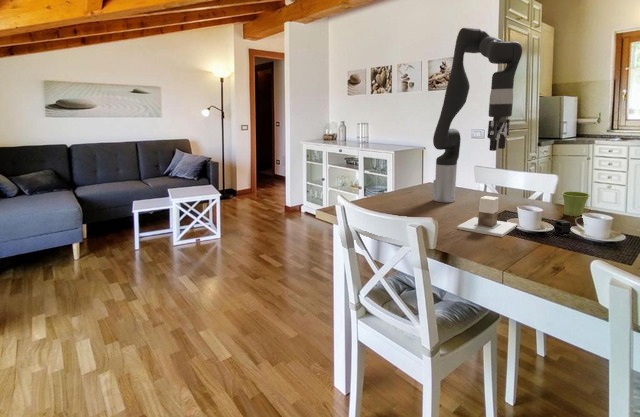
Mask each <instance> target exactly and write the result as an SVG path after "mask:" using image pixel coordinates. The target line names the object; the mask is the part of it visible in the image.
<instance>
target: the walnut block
mask: <svg viewBox="0 0 640 417" xmlns="http://www.w3.org/2000/svg"><path fill="white" fill-rule="evenodd" d="M498 212H499V210H498V211H497V212H495V213H493V214H492V213H485V212H479V211H478V217H477V218H478V225H482V226H488V227H493V226H494V225H496V224H497V221H498V215H499V214H498Z"/></svg>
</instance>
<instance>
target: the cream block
mask: <svg viewBox="0 0 640 417" xmlns="http://www.w3.org/2000/svg"><path fill="white" fill-rule="evenodd" d="M499 203H500V197H498V196H490V195H484V196H482V197H480V198H479V205H478V206H479V208H478V213H479V212H485V213H492V214H493V213H495V212H497V211H498V212H499Z"/></svg>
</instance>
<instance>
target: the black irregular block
mask: <svg viewBox="0 0 640 417" xmlns="http://www.w3.org/2000/svg"><path fill="white" fill-rule="evenodd" d="M571 227H572V226H571V221H567V220H565V219H556V220H555V223H554V227H553V229H554V230H553V232H555V233H554V234H556V233H558V234H561V235H563V234H569V233H571V229H572V228H571ZM553 232H552V233H553ZM558 234H557V235H558Z"/></svg>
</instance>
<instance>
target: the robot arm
mask: <svg viewBox="0 0 640 417" xmlns="http://www.w3.org/2000/svg"><path fill="white" fill-rule="evenodd" d="M465 53H468V54H481V56H483V57H485V58H487V59H488V62H489V63H491V64H495V65H500V64H501V65H502V64H506V66H505V68H504V69H502V70H499V71H495V72H493V74H492V76H491V84H490V85H491V87H490V88H491V90H490V93H489V103H488V104H489V105H488V117H490V118H492V120H488V127H487V128H488V129H487V135H486V136H487V139H489V148H488V149H489V151H490V152H491V151H492V152H493V151H494V152H496V151H497V150H498V149H500V150H501V149H502V150H503V149H505V148H506V138H507V137H509V134H510V124H511V123H510V121H511V120H510V119H509V117H512V116H513V115H512V114H513V104H514V82H515V75H516V72H517V70H518V67H519V63H520V61H521V58H522V55H523V46H522V44H521V43H520V42H518V41H503V39H500V38H497V37H494V36H491V35H490V34H489V33H488V32H487V30H484V29H481V28H473V27H462V28H461V29H459V31H458V33H457V36H456V41H455V46H454V53H453V58H452V64H451V69H450V73H449V76H448V77H449V79H448V82H447V85H446V88H445V89H446V90H445V93H444V99H443V104H442V108H441V111H440V114H439V119H438V122H437V124H436V127H435V130H434V133H433V138H432V142H433V146H434V148H435V149H436V150H444V152H443V153H442V154H441V155H440V156H439V155H438V156H437V157H436V158H435V160H436V161H435V177H434V178H435V179H433V184H432V185H433V186H432V201H435V202H439V203H452V202H453V203H454V202H455V201H456V183H457V182H456V181H457V169H458V168H457V167H458V160H459V158H460V157H459V156H460V148H461V133H460V132H459V130H458V129H457V128H451V125H452V122H453V120H454V119H455V118H456V116H457V114H458V113H459V112H460V111H461V110H462V108H463V107H464V106H465V105H466V102H467V98H468V95H469V91H470V81H469V78H468V76H467V73H466V69H465V66H464V58H465V57H464V56H465Z"/></svg>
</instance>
